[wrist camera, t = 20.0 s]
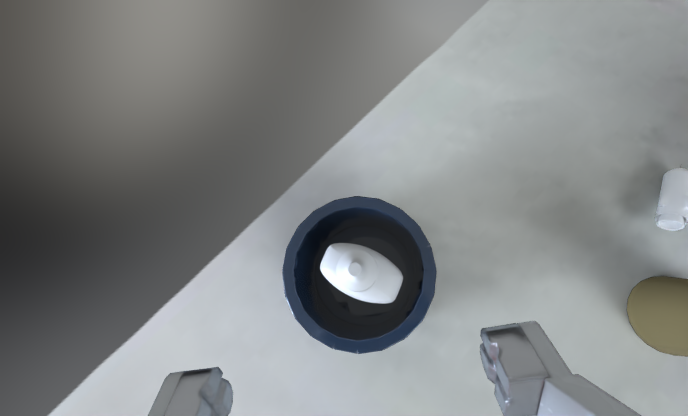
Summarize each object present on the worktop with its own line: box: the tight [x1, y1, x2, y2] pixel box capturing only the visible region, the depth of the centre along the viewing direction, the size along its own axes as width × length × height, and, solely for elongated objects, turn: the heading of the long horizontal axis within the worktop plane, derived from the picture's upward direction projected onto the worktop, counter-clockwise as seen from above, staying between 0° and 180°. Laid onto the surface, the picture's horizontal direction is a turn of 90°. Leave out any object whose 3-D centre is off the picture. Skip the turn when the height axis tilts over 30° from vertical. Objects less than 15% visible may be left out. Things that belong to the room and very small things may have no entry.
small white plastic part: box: [655, 166, 688, 231], centre depth 26 cm, size 4×6×3 cm, turn 127°
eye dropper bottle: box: [320, 243, 403, 304], centre depth 23 cm, size 4×6×12 cm
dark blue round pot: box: [282, 196, 437, 354], centre depth 25 cm, size 10×10×8 cm
